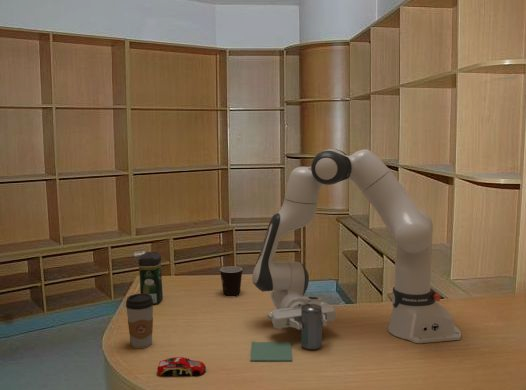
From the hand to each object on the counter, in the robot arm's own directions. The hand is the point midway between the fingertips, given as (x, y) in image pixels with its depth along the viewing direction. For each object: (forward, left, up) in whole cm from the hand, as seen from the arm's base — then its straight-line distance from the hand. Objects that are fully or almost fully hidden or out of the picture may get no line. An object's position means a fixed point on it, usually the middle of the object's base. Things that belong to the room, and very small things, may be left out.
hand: (312, 325), depth 164 cm
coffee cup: (+52, -3, -7) cm, 53 cm away
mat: (+12, +3, -7) cm, 15 cm away
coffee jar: (+57, -41, -7) cm, 71 cm away
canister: (0, -1, -7) cm, 7 cm away
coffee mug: (+27, -50, -7) cm, 57 cm away
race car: (+37, +15, -8) cm, 41 cm away
